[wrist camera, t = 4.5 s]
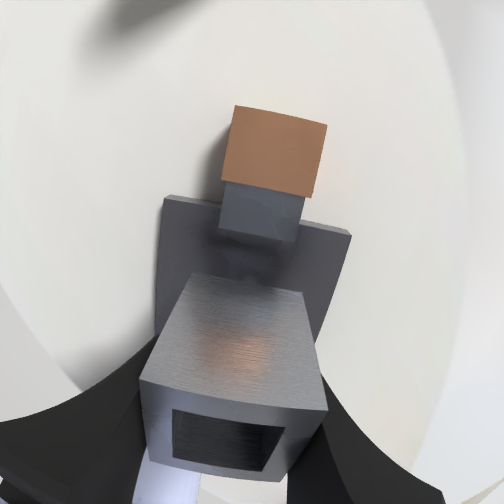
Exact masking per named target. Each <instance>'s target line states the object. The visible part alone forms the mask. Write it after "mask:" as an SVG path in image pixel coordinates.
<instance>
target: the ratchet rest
mask: <svg viewBox="0 0 504 504" xmlns="http://www.w3.org/2000/svg"><path fill="white" fill-rule="evenodd" d="M326 130H327V125H326V124H322V123H318V122H314V121H310V120H306V119H302V118H298V117H294V116H289V115H285V114H280V113H275V112H270V111H265V110H260V109H255V108H249V107H243V106H237V105H235V108H234V113H233V118H232V123H231V128H230V133H229V138H228V143H227V149H226V154H225V159H224V165H223V170H222V176H221V180H225V181H226V185H225V191H224V196H223V202H222V204H221V203H215V202H210V201H204V200H198V199H193V198H187V197H181V196H175V195H169V196H167V197H165V198H164V202H163V211H162V220H161V230H160V242H159V254H158V269H157V286H156V312H155V336H156V335H158V334H159V335H160V334H161V332H162V330H163V328H164V326H165V324H166V322H167V320H168V318H169V316H170V314H171V312H172V311H173V309H174V307H175V305H176V303H177V301H178V299H179V297H180V295H181V293H182V291H183V289H184V287H185V285H186V284H187V282H188V280H189V278H190V276H191V274H192V272H197V273H202V274H207V275H212V276H217V277H222V278H227V279H232V280H237V281H242V282H248V283H253V284H258V285H263V286H269V287H274V288H280V289H285V290H291V291H296V292H302V295H303V299H304V303H305V307H306V311H307V315H308V320H309V324H310V328H311V332H312V337H313V341H314V344H315V342H316V339H317V337H318V334H319V332H320V329H321V326H322V324H323V321H324V318H325V316H326V313H327V310H328V307H329V305H330V302H331V299H332V296H333V293H334V290H335V287H336V284H337V281H338V278H339V275H340V272H341V269H342V266H343V263H344V260H345V257H346V254H347V250H348V247H349V244H350V241H351V237H352V235H351V234H350V233H349V232H348V231H347V230H345V229H341V228H336V227H332V226H328V225H323V224H319V223H314V222H310V221H305V220H300V218H301V213H302V209H303V205H304V201H305V197H308V198H311V197H312V193H313V188H314V184H315V180H316V176H317V171H318V167H319V162H320V158H321V153H322V149H323V144H324V140H325V135H326Z"/></svg>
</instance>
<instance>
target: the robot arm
mask: <svg viewBox="0 0 504 504" xmlns="http://www.w3.org/2000/svg"><path fill="white" fill-rule="evenodd" d="M159 336H160V335H159V334H158V335H156V336H154V337H153V338H152V339H151V340H150V341H149V342H148V343H147V344H146V345H145V346H144V347H143V348H142V349H141V350H140V351H138V352H137V353H136V354H135V355H134V356H133V357H132V358H130V359H129V360H128V361H127V362H126V363H124V364H123V365H122V366H121V367H119V368H118V369H117V370H116V371H114V372H113V373H111V374H110V375H109V376H107V377H106V378H105V379H103V380H102V381H100V382H99V383H97V384H96V385H94V386H93V387H91V388H89V389H88V390H86V391H84V392H83V393H81V394H79V395H77V396H75V397H73V398H71V399H70V400H67V401H65V402H63V403H61V404H59V405H57V406H55V407H52V408H49V409H46V410H44V411H41V412H38V413H36V414H33V415H29V416H26V417H23V418H18V419H13V420H9V421H4V422H0V476H1V477H2V478H3V480H2V482H1V484H0V504H197V498H198V493H199V487H200V481H201V475H202V473H198V472H193V471H189V470H184V469H179V468H175V467H171V466H167V465H163V464H159V463H156V462H152V461H149V455H148V449H147V443H146V437H145V430H144V422H143V415H142V406H141V397H140V387H139V377H140V375H141V373H142V371H143V369H144V367H145V365H146V363H147V361H148V359H149V357H150V354H151V352H152V350H153V348H154V346H155V344H156V342H157V340H158V338H159ZM321 377H322V382H323V387H324V392H325V396H326V401H327V406H328V412H327V414H326V415H325V417H324V419H323V420H322V422H321V423H320V425H319V427H318V428H317V430H316V431H315V433H314V434H313V436H312V438H311V439H310V441H309V442H308V444H307V445H306V447H305V448H304V450H303V451H302V452H301V454H300V455H299V457H298V458H297V460H296V461H295V462H294V464H293V465H292V467H291V468H290V469H289V471H288V472H287V475H288V483H287V504H446V503H445V500H444V497H443V494H442V492H441V491H440V490H438V489H436V488H435V487H433V486H431V485H429V484H427V483H425V482H423V481H421V480H420V479H418V478H416V477H415V476H413V475H412V474H410V473H409V472H407V471H406V470H404V469H403V468H402V467H400V466H399V465H398V464H396V463H395V462H394V461H393V460H392V459H390V458H389V457H388V456H387V455H386V454H384V453H383V452H382V451H381V450H380V449H379V448H378V447H377V446H376V445H375V444H374V443H373V442H372V441H371V440H370V439H369V438H368V437H367V436H366V435H365V434H364V433H363V432H362V431H361V429H360V428H359V427H358V426H357V425H356V423H355V422H354V421H353V420H352V418H351V417H350V416H349V415H348V413H347V412H346V410H345V409H344V408H343V406H342V405H341V403H340V402H339V400H338V399H337V398H336V396H335V395H334V393H333V392H332V390H331V388H330V387H329V385H328V384H327V382H326V381H325V379H324V377H323V376H322V374H321Z"/></svg>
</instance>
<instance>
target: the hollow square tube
mask: <svg viewBox="0 0 504 504" xmlns="http://www.w3.org/2000/svg"><path fill="white" fill-rule="evenodd" d="M139 387H140V397H141V406H142V415H143V422H144V430H145V437H146V443H147V449H148V455H149V461H152V462H156V463H159V464H163V465H167V466H171V467H175V468H179V469H184V470H189V471H193V472H198V473H204V474H209V475H215V476H222V477H229V478H236V479H245V480H255V481H268V482H280V481H281V480H282V479H283V477H284V476H285V475H286V473H287V472H288V471H289V469H290V468H291V467H292V465H293V464H294V462H295V461H296V460H297V458H298V457H299V455H300V454H301V452H302V451H303V450H304V448H305V447H306V445H307V444H308V442H309V441H310V439H311V438H312V436H313V434H314V433H315V431H316V430H317V428H318V427H319V425H320V423H321V422H322V420H323V419H324V417H325V415H326V414H327V412H328V406H327V401H326V396H325V392H324V387H323V382H322V377H321V373H320V368H319V364H318V359H317V354H316V350H315V346H314V341H313V337H312V332H311V328H310V324H309V320H308V315H307V311H306V307H305V303H304V299H303V295H302V292H296V291H291V290H285V289H280V288H274V287H269V286H263V285H258V284H253V283H248V282H242V281H237V280H232V279H227V278H222V277H217V276H212V275H207V274H202V273H197V272H192V274H191V276H190V278H189V280H188V282H187V284H186V285H185V287H184V289H183V291H182V293H181V295H180V297H179V299H178V301H177V303H176V305H175V307H174V309H173V311H172V312H171V314H170V316H169V318H168V320H167V322H166V324H165V326H164V328H163V330H162V332H161V334H160V336H159V338H158V340H157V342H156V344H155V346H154V348H153V350H152V352H151V354H150V357H149V359H148V361H147V363H146V365H145V367H144V369H143V371H142V373H141V375H140V377H139Z"/></svg>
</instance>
